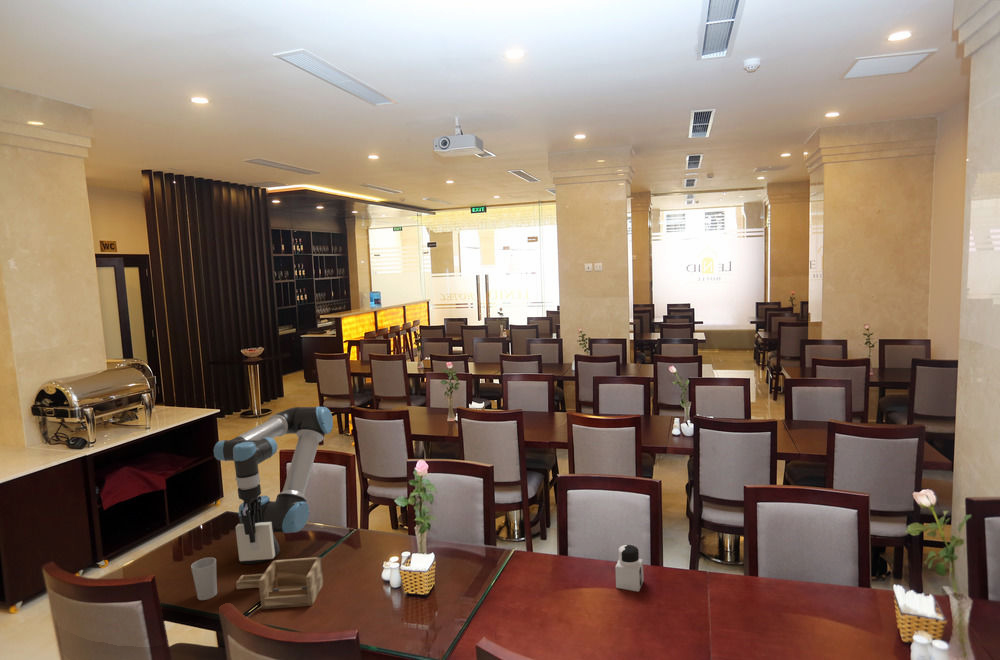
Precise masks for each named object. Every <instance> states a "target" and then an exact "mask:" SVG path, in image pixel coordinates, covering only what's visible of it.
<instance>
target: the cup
mask: <svg viewBox="0 0 1000 660" xmlns="http://www.w3.org/2000/svg"><path fill="white" fill-rule="evenodd" d="M190 568H191V573H192V577H193V581H194V587H195V591H196V596H197V597H196V598H197V599H198V600H199V601H205V600H210V599H212V598H214V597H216V595H217V594H218V586H217V584H218V583H217V582H218V581H217V580H218V579H217V559H216V558H214V557H203V558H201V559H198V560H196V561H194V562H192V564H191V566H190Z"/></svg>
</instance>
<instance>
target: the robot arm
mask: <svg viewBox="0 0 1000 660" xmlns="http://www.w3.org/2000/svg"><path fill="white" fill-rule="evenodd" d="M333 427H334V421H333V415H332V412H331V410H330V409H329V408H328V407H326V406H307V407H306V406H294V407H290V408H287V409H284V410H282V411H279V412H277V413H275V414H273V415H271V416H270V417H269V419H267V420H266V421H264V422H262V423H261V424H259V425H257V426H255V427H253V428H251V429H249V430H247V431H245V432H243V433H241V434H239V435H237V436H236V437H233V438H232V439H230V440H227V439H225V440H219V441H217V442H216V443H215V445H214V447H213V456H214V458H215V459H216V460H217V461H224V462H229V461H230V462H232V461H233V462H234V463H233V464H234V469H235V481H236V486H237V495H238V499H239V500H242V501H243V502H241V504H239V506H238V518H239V524H244V530H245V535H249V542H250V550H251V551H253V550H259V546H258V538H257V532H256V531H255V523H261V522H272V531H273V540H274V549H275V557H277V556H278V555H279V553H280V544H279V543H278V541H277V538H276V536H275V534H274V533H285V534H290V533H291V534H292V533H298V532H300V531H301V530H303V529H304V528H305V526H306V525H307V522H308V520H309V518H310V517H309V516H310V505H309V504H308V503H307V497H306V496H305V493H306V490H307V487H308V483H309V479H310V475H311V472H312V468H313V465H314V461H315V457H316V455H317V450H318V448H319V443H321V442H322V441H324V439H325V435H328V434H330V433H331V432H332V430H333ZM290 434H293V435H294V434H296V436H297V438H298V440H297V443H296V445H295V448H294V452H293V454H292V455H293V456H292V460H291V462H290V466H289V469H288V473H287V476H286V479H285V483H284V486H283V489H282V491H281V492H280V493H278V494H277V496H276V499H275V500H274V501H271V499H270V496H268V495H261V494H262V489H261V484H260V483H261V480H260V472H259V471H260V470H259V465H260V464H261V463H262V462H265V461H266V460H268V459H270V458H272V457H273V456H274V455H275V454H276V453H277V451H278V443H277V441H276V440H275V439H274V438H277V437H283V436H285V435H290ZM270 560H271V559H263V560H250V561H239V562H240V563H241V564H244V565H256V564H261V563H264V562H267V561H270Z"/></svg>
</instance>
